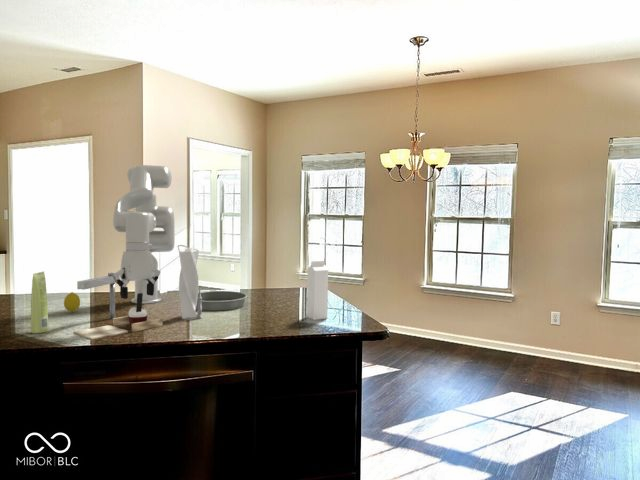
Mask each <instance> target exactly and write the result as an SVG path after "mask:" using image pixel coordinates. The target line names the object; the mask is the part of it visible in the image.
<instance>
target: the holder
mask: <svg viewBox="0 0 640 480" xmlns="http://www.w3.org/2000/svg"><path fill="white" fill-rule="evenodd" d="M128 316H129V315H125V316H119V317H115V318H113V319H112V326H114V327H117V326H122V325H127V324H130V323H129V318H128ZM159 327H163V318H162V317H161V318H156V319H150V320H147V321H144V322H139V323H133V324H132V325H131V332H139V331H143V330H147V329H153V328H159Z"/></svg>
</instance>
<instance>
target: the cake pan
mask: <svg viewBox="0 0 640 480" xmlns="http://www.w3.org/2000/svg"><path fill="white" fill-rule="evenodd" d="M198 297H199V292H198ZM201 297H202V299H201V304H202V310H204V311H205V310H206V311H226V310H228V311H229V310H234V309H239V308H242V307H244V305H245V300H246V299H247V297H248V294H247V293H245V292H241V291H232V290H230V291H229V290H211V291H201ZM196 309H198V299H197V306H196Z"/></svg>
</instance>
